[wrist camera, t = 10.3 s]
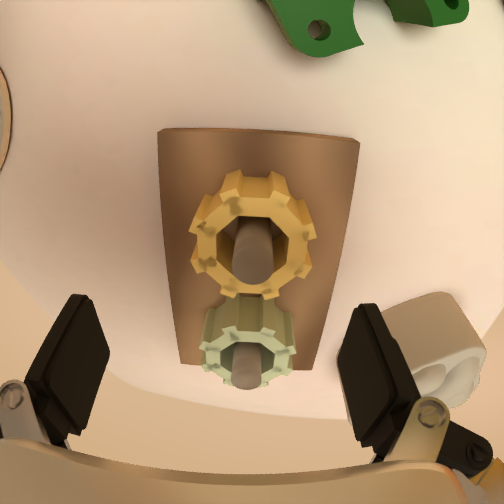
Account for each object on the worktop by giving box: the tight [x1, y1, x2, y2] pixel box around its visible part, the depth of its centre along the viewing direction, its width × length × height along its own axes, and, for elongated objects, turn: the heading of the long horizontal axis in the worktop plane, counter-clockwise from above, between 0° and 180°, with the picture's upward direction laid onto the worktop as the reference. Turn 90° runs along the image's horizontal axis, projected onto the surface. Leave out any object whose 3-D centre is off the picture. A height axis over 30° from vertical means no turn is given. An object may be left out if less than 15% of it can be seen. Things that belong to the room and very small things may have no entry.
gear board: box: [157, 128, 360, 390], centre depth 20 cm, size 12×20×7 cm, turn 177°
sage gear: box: [199, 293, 296, 387], centre depth 23 cm, size 7×7×4 cm
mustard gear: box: [189, 169, 317, 300], centre depth 18 cm, size 7×7×4 cm
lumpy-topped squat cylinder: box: [336, 292, 487, 426], centre depth 24 cm, size 10×13×9 cm
